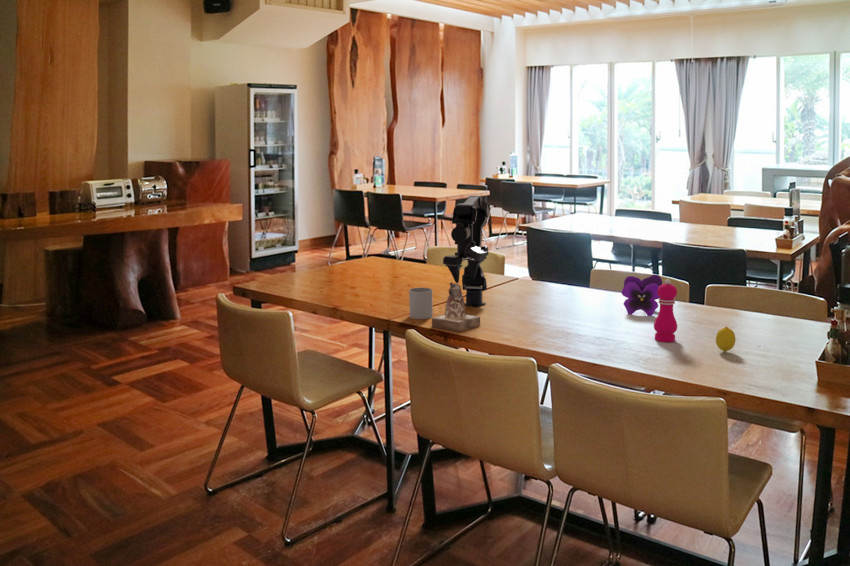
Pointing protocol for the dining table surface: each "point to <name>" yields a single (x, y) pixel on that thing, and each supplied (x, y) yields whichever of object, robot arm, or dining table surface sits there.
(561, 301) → the dining table surface
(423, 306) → the cup
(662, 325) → the pepper mill
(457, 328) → the plinth
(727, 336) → the lemon
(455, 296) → the figurine
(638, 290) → the flower
